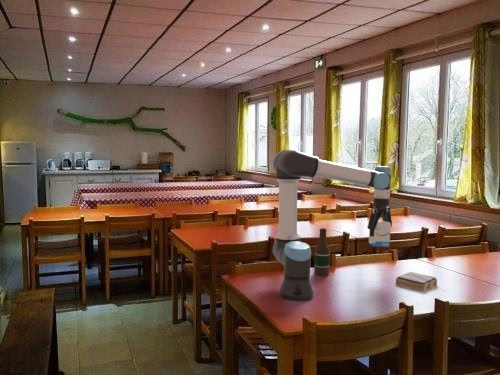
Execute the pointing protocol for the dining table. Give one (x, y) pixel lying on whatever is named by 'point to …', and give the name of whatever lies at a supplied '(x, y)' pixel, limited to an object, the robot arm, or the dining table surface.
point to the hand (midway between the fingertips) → (379, 241)
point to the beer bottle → (322, 255)
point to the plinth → (416, 281)
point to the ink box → (382, 234)
